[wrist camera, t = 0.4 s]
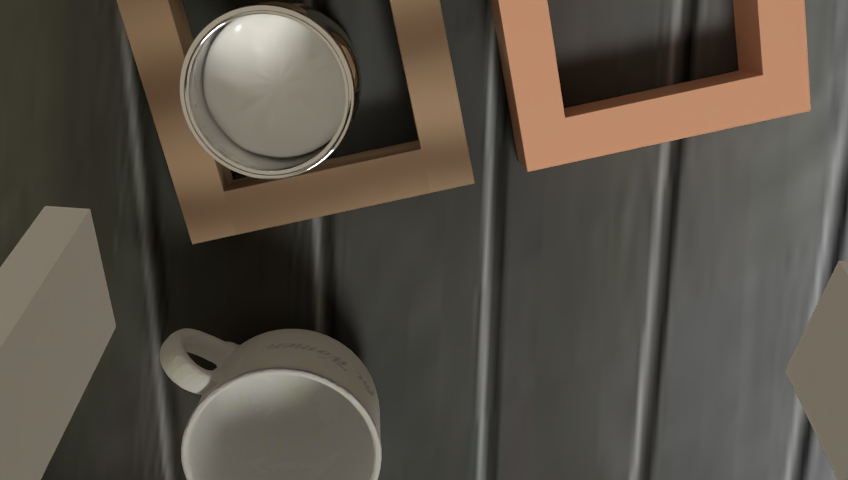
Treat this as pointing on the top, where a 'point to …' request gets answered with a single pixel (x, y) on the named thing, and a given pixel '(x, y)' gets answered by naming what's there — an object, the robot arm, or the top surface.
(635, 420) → the top surface
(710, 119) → the terracotta holder
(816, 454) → the top surface
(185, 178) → the walnut holder
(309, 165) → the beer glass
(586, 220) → the top surface
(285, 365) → the teacup
